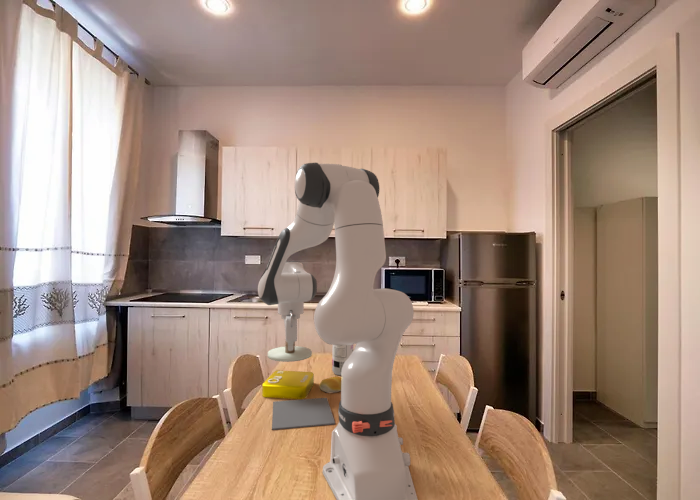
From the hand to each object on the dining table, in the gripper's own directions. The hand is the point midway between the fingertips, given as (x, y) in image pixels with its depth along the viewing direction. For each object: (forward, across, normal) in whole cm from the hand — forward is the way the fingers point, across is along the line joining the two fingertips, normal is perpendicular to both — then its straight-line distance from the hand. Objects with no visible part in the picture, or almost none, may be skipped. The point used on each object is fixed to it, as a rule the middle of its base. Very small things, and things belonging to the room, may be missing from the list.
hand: (290, 348), depth 119 cm
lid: (+2, 0, 0) cm, 2 cm away
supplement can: (+14, +14, -21) cm, 29 cm away
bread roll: (+15, -1, -15) cm, 21 cm away
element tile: (+15, 0, 0) cm, 15 cm away
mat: (+14, -18, -3) cm, 23 cm away
